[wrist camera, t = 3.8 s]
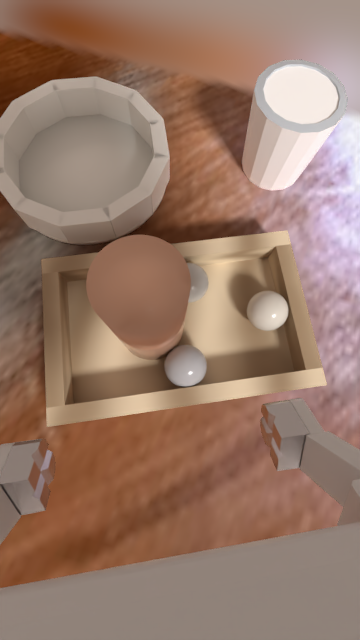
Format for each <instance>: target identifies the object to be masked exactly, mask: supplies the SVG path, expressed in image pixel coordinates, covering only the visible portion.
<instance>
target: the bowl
mask: <svg viewBox="0 0 360 640" xmlns="http://www.w3.org/2000/svg"><path fill="white" fill-rule="evenodd" d="M169 180H170V156H169V149H168V143H167V137H166V131H165V125H164V119H163V118H162V117H161V116H160V115H159V114H158V113H157V112H156V110H155V109H154V108H153V107H152V106H151V105H150V104H149V103H148V102H147V101H146V100H145V99H144V98H143V97H142V96H141V94H140V93H139V92H138V91H136V90H134V89H131V88H128V87H125V86H123V85H120V84H117V83H114V82H111V81H108V80H105V79H102V78H99V77H83V78H71V79H58V80H51V81H49V82H47V83H45V84H43V85H41V86H39V87H38V88H36V89H34V90H32V91H30V92H28V93H26V94H24V95H22V96H20V97H19V98H17V99H15V100H13V101H12V102H11V104H10V105H9V106H8V108H7V109H6V111H5V112H4V114H3V115H2V116H1V118H0V191H1V193H2V194H3V195H4V197H5V198H6V199H7V201H8V202H9V203H10V205H11V206H12V207H13V209H14V210H15V211H16V212H17V214H18V215H19V216H20V217H21V218H22V220H23V221H24V222H25V223H26V224H27V226H28V227H29V228H32V229H34V230H36V231H38V232H39V233H41V234H43V235H45V236H47V237H49V238H51V239H54V240H57V241H60V242H64V243H69V244H78V245H91V244H100V243H105V242H109V241H112V240H116V239H118V238H121V237H123V236H125V235H127V234H129V233H131V232H133V231H134V230H136V229H137V228H139V227H140V226H141V225H142V224H144V223H145V222H146V221H147V220H148V219H149V218H150V217H151V216H152V215H153V213H154V212H155V211H156V209H157V208H158V206H159V204H160V203H161V201H162V199H163V196H164V193H165V190H166V186H167V184H168V182H169Z"/></svg>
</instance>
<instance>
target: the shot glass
mask: <svg viewBox="0 0 360 640" xmlns="http://www.w3.org/2000/svg"><path fill="white" fill-rule="evenodd" d="M347 102H348V98H347V95H346V92H345V88H344V86H343V84H342V83H341V82H340V81H339V79H338V78H337V77H336V76H335V75H334V73H332V72H331V71H329V70H327V69H326V68H324V67H322V66H321V65H319V64H316V63H312V62H308V61H304V60H286V61H285V60H284V61H281V62H279V63H276V64H273V65H271V66H269V67H268V68H267V69H266V70H265V71H264V72H263V73H262V74H261V75H260V76H259V77H258V79H257V83H256V86H255V89H254V94H253V100H252V105H251V111H250V117H249V123H248V128H247V134H246V140H245V145H244V151H243V157H242V167H243V172H244V173H245V175H246V176H247V178H248V179H249V181H251V182H252V183H254V184H255V185H256V186H258V187H260V188H264V189H267V190H282V189H284V188H287V187H289V186H291V185H292V184H293V183H294V182H295V181H296V180H297V179H298V177H299V176H300V175H301V173H302V172H303V171H304V169H305V168H306V166H307V165H308V164H309V162H310V161H311V160H312V158H313V157H314V156H315V154H316V153H317V151H318V150H319V149H320V147H321V146H322V145H323V143H324V142H325V140H326V139H327V138H328V136H329V135H330V134H331V132H332V131H333V130H334V128H335V127H336V125H337V124H338V123H339V121H340V120H341V119H342V117H343V116H344V114H345V111H346V107H347Z"/></svg>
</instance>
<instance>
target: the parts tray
mask: <svg viewBox="0 0 360 640" xmlns="http://www.w3.org/2000/svg"><path fill="white" fill-rule="evenodd" d="M171 245H172V246H174V247H175V248H176V249H177V250H178V251H179V252H180V253H181V255H182V256H183V257H184V259H185V261H186V263H194V264H197V265H199V266H200V267H202V268H203V269H204V271H205V272H206V274H207V276H208V281H209V285H208V289H207V292H206V293H205V295H204V296H203V297H202V298H201V299H199V300H198V301H195V302H191V303H188V306H187V312H186V317H185V323H184V329H183V334H182V338H181V341H180V343H179V345H178V346H180V345H191V346H194V347H196V348H198V349H199V350H200V351H201V352H202V353H203V355H204V357H205V359H206V363H207V370H206V373H205V376H204V378H203V379H202V380H201V381H200V382H199V383H198V384H197V385H195V386H192V387H186V388H184V387H179V386H177V385H175V384H173V383H172V382H171V381H170V380H169V379H168V377H167V375H166V373H165V369H164V363H165V359H166V357H167V356H166V357H164V358H161V359H158V360H145V359H142V358H139V357H137V356H135V355H134V354H132V353H131V352H130V351H129V350H128V349H127V348H126V347H125V345H124V344H123V343H122V342H121V341H120V340H119V339H118V337H117V336H116V335H115V334H114V333H113V332H112V331H111V330H110V328H109V327H108V326H107V325H106V324H105V323H104V322H103V321H102V319H101V318H100V317H99V316H98V315H97V314H96V312H95V311H94V309H93V308H92V306H91V304H90V302H89V299H88V296H87V290H86V280H87V274H88V270H89V268H90V265H91V263H92V261H93V260H94V258H95V257H96V255H97V254H98V253H99V252H97V253H89V254H80V255H71V256H63V257H54V258H45V259H41V269H42V298H43V327H44V356H45V386H46V415H47V427H50V426H57V425H63V424H70V423H77V422H83V421H90V420H97V419H103V418H110V417H117V416H123V415H130V414H137V413H143V412H150V411H157V410H163V409H170V408H177V407H183V406H190V405H197V404H203V403H210V402H217V401H223V400H230V399H237V398H243V397H250V396H257V395H263V394H270V393H277V392H283V391H290V390H297V389H303V388H310V387H317V386H323V385H327V383H326V379H325V375H324V371H323V367H322V364H321V360H320V356H319V352H318V348H317V344H316V340H315V336H314V332H313V328H312V325H311V321H310V317H309V313H308V309H307V305H306V301H305V297H304V293H303V289H302V286H301V282H300V278H299V274H298V270H297V266H296V262H295V258H294V254H293V250H292V246H291V243H290V239H289V235H288V231H278V232H270V233H261V234H253V235H244V236H235V237H227V238H218V239H209V240H201V241H192V242H183V243H175V244H171ZM262 291H274V292H277V293H278V294H280V295H281V296H282V297H283V298H284V299H285V300H286V302H287V304H288V310H289V311H288V317H287V319H286V321H285V322H284V324H283V325H282V326H280V327H279V328H277V329H275V330H271V331H264V330H260V329H258V328H256V327H255V326H253V325H252V324H251V322H250V321H249V319H248V316H247V305H248V303H249V301H250V299H251V298H252V297H253V296H254V295H255V294H257V293H259V292H262Z"/></svg>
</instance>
